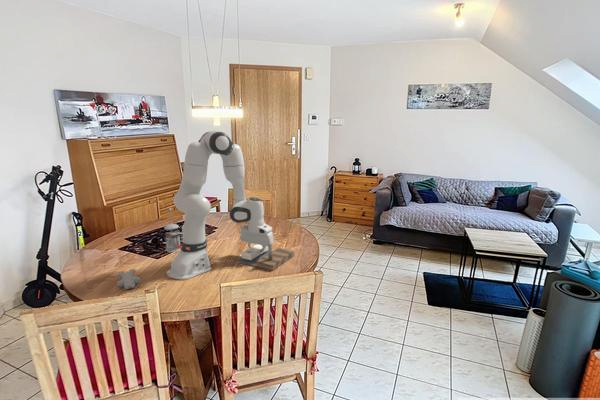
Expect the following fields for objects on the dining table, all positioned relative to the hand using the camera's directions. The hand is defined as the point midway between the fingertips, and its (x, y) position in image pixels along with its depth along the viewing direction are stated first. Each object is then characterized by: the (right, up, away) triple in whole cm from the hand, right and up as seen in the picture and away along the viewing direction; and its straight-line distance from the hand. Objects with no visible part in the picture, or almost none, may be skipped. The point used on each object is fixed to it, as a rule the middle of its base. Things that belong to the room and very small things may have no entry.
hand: (257, 250), depth 190 cm
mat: (0, -3, 0) cm, 3 cm away
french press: (-50, -1, +11) cm, 51 cm away
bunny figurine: (-56, -11, -31) cm, 65 cm away
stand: (+11, -5, -6) cm, 14 cm away
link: (-1, -1, -1) cm, 1 cm away
